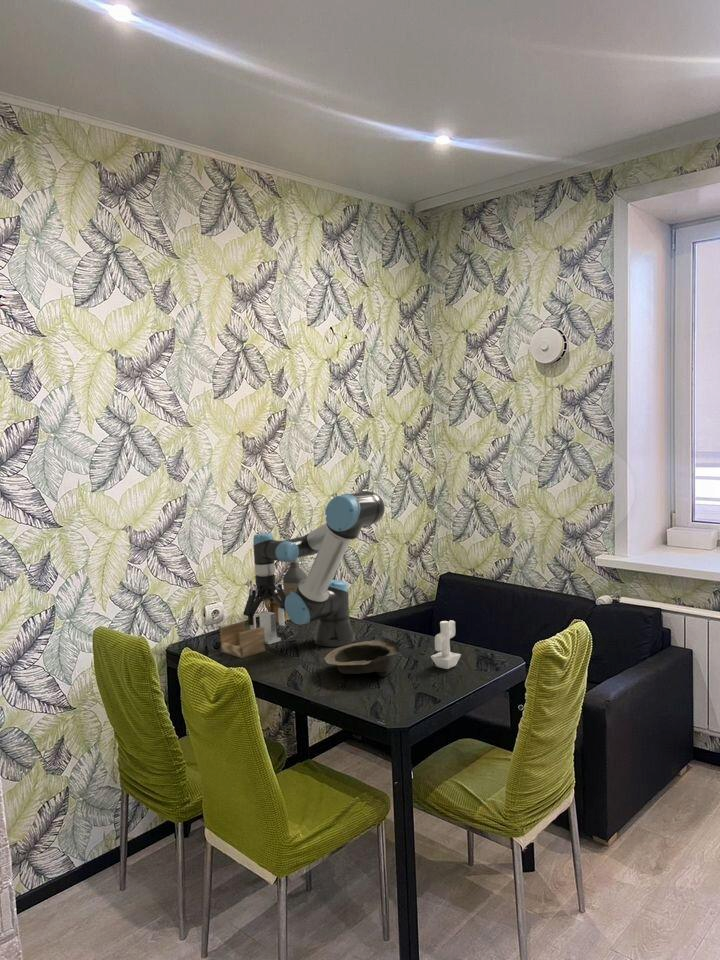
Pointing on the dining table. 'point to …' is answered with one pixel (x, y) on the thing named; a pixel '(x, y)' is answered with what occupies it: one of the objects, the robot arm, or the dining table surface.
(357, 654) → the stone bowl
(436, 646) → the figurine
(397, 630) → the dining table surface
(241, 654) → the open wooden box
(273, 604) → the wooden mug
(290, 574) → the liquor
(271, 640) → the bracket
